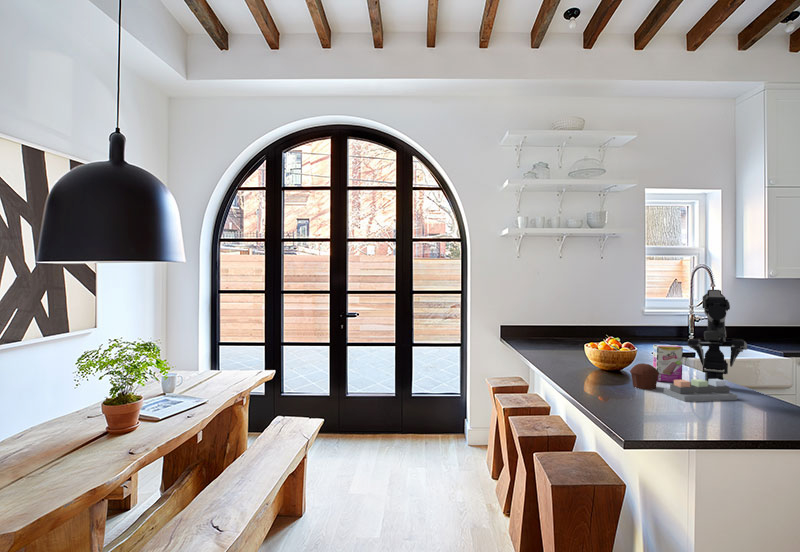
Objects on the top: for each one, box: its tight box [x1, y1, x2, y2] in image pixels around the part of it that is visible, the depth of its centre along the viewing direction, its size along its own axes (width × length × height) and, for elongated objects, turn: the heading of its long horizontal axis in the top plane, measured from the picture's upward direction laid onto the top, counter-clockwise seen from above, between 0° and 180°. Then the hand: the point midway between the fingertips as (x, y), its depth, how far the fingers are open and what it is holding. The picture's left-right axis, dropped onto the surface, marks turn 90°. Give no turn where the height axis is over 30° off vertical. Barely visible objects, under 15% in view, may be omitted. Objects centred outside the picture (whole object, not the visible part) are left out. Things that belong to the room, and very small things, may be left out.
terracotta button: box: [673, 379, 691, 387], centre depth 184 cm, size 4×4×3 cm
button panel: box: [663, 383, 738, 402], centre depth 185 cm, size 12×22×4 cm, turn 96°
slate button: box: [708, 379, 726, 386], centre depth 186 cm, size 4×4×3 cm
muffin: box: [629, 362, 659, 391], centre depth 201 cm, size 12×11×10 cm
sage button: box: [690, 378, 708, 387], centre depth 185 cm, size 4×4×3 cm
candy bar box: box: [652, 344, 684, 383], centre depth 213 cm, size 11×5×16 cm, turn 84°
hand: (716, 365), depth 179 cm, fingers open, 9 cm apart
